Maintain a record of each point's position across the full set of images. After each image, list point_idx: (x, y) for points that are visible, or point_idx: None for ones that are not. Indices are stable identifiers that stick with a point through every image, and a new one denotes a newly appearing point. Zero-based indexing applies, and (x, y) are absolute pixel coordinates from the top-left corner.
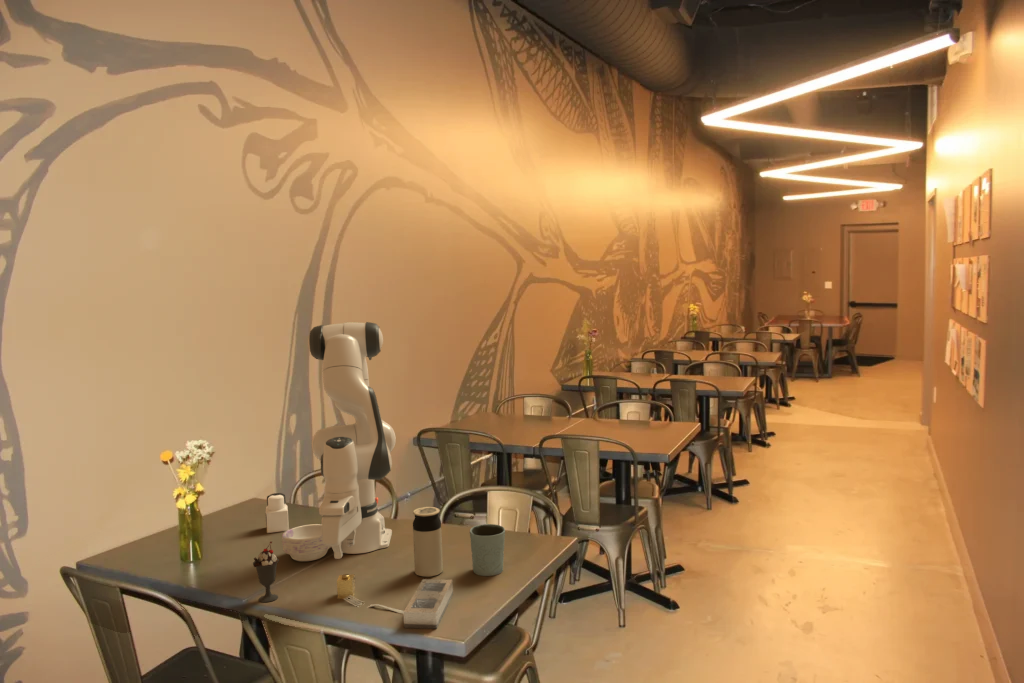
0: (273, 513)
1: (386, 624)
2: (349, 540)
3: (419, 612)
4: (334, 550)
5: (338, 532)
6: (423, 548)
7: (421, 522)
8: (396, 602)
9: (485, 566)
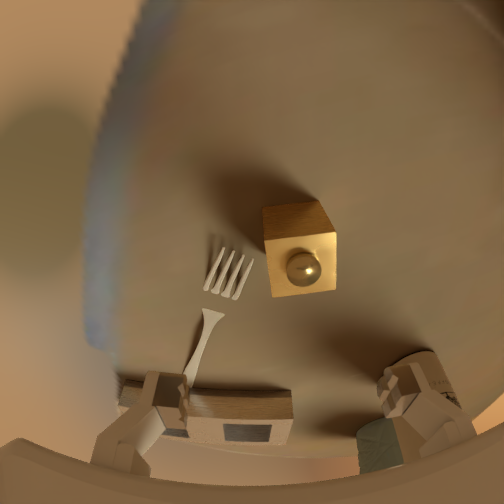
0: None
1: (127, 356)
2: (396, 404)
3: None
4: (126, 418)
5: None
6: (401, 431)
7: None
8: (242, 359)
9: (359, 445)
